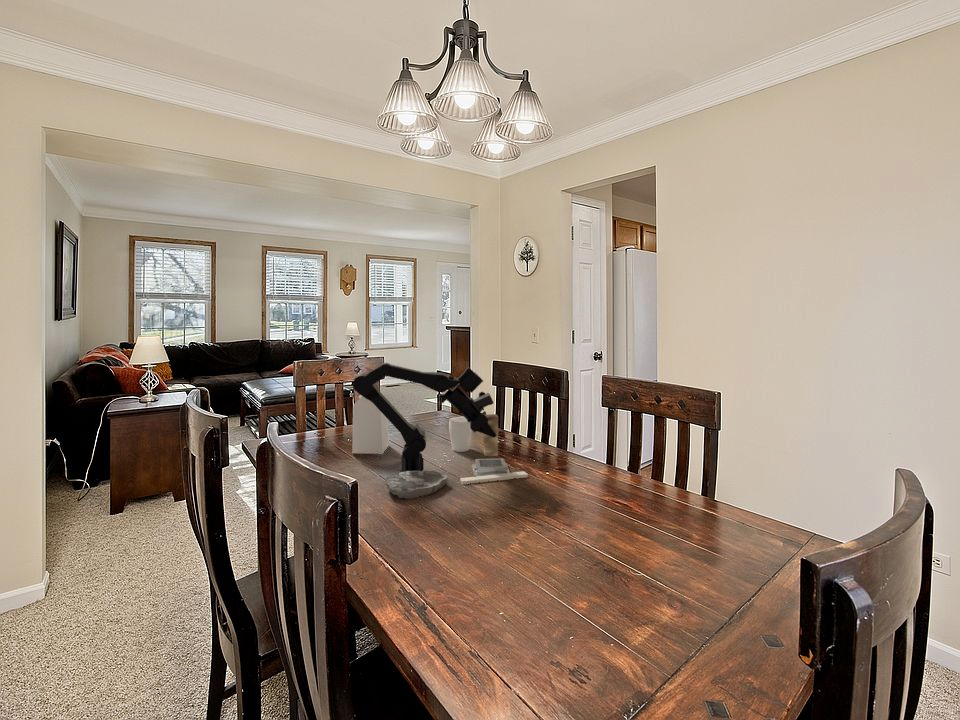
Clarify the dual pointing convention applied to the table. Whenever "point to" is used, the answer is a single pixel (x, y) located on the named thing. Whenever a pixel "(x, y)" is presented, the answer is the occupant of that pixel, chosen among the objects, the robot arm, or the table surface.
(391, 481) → the brain slice
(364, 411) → the milk
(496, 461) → the keeper
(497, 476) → the door edge strip
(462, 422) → the cup
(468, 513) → the table surface
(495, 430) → the block
